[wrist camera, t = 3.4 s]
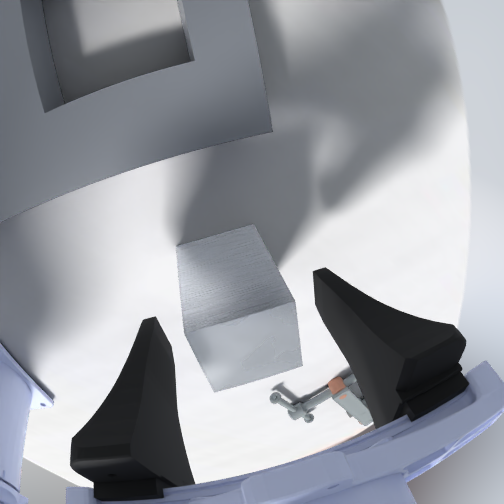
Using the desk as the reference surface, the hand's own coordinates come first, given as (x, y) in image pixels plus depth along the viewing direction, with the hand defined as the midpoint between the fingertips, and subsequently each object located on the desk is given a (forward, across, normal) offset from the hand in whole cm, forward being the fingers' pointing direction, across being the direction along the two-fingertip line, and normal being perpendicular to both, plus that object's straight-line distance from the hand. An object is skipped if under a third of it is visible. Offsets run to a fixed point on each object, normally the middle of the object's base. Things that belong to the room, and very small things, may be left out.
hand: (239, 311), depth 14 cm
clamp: (+4, -8, +18) cm, 20 cm away
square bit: (+4, 0, 0) cm, 4 cm away
